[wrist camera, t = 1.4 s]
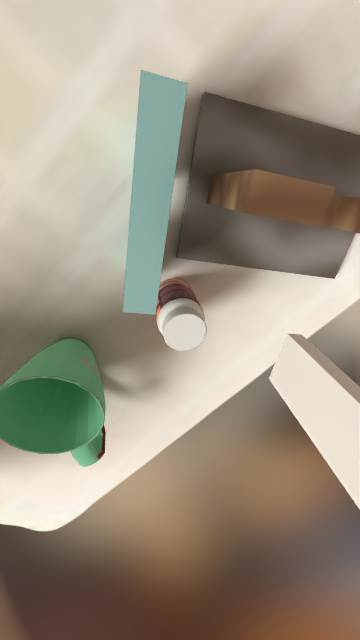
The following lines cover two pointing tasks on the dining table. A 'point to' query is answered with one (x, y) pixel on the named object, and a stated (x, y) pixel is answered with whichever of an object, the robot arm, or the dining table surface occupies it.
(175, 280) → the pill bottle
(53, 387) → the mug
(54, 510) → the dining table surface
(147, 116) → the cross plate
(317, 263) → the slotted stand
